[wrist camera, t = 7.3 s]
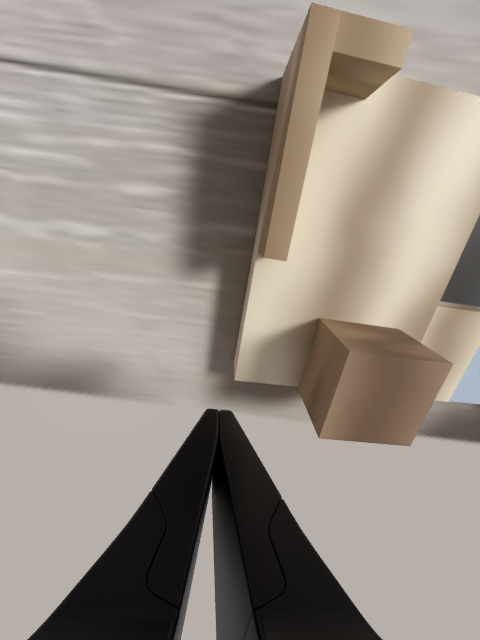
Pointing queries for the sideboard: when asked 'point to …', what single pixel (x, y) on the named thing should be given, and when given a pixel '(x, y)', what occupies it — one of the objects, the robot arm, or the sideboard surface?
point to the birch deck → (364, 204)
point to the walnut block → (369, 382)
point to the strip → (469, 382)
